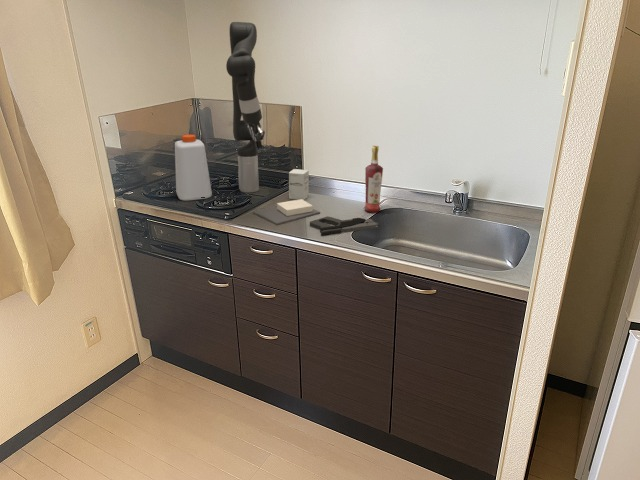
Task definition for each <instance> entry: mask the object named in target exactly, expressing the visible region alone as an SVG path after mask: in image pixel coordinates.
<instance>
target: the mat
mask: <svg viewBox="0 0 640 480" xmlns="http://www.w3.org/2000/svg"><path fill="white" fill-rule="evenodd" d="M252 213H253V214H254V215H256V216H259V217H260V218H261V219H264V220H266V221H268V222H270V223H272V224H274V225H275V226H279V225H280V226H281V225H283V224H286V223H291V222H293V221H298V220H302V219H305V218H306V219H307V218H309V217H313V216H316V215H320V214H321V211H320V210H317V209H314V208H313V211H312V212H308V213H303V214H297V215H291V216H286V215H285V214H284V213H282V212H281V211H279V210H278V209H277V205H274V206H269V207H266V208H261V209H257V210H253V211H252Z"/></svg>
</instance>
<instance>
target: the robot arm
mask: <svg viewBox="0 0 640 480" xmlns="http://www.w3.org/2000/svg"><path fill="white" fill-rule="evenodd" d="M257 37H258V33H257V27H256V25H255V24H254V23H253V22H245V21H244V22H243V21H241V22H240V21H232V22H231V23H230V25H229V44H230V53H231V54H230V56H229V57H228V58H227V60H226V65H225V66H226V68H225V69H226V72H227V73H228V75H229V76H230V77H231V85H232V86H231V89H232V102H233V103H232V105H233V106H232V107H233V110H232V111H233V116H232V118H233V119H232V133H233V138H234V140H235V141H236V142H243V141H244V142H245V141H247V142H248V143H247V144H245V145H243V146H241V147H239V148H238V149H237V163H238V170H237V176H238V188H239V192H242V193H255V192H258V191H259V190H260V186H259V185H260V184H259V183H260V182H259V181H260V180H259V179H260V178H259V162H258V161H259V160H258V158H259V157H258V150H260V149H262V148H263V145H262V141H263V140H264V138H265V137H264V136H265V133H266V132H265V130H264V129H263V130H262V126H261V123H260V121H262V118H263V116H262V111H261V106H260V101H259V98H258V95H257V91H256V83H255V74H256V62H255V59H254V57H253V56H252V54H253V51H254V49H255V46H256V43H257Z"/></svg>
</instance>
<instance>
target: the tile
mask: <svg viewBox="0 0 640 480" xmlns="http://www.w3.org/2000/svg"><path fill="white" fill-rule="evenodd" d="M276 206H277V209H278V210H279V211H281V212H282V213H284V214H285V215H286V216H291V215H297V214H303V213H308V212H312V211H313V209H314V208H313V207H314V206H313V205H312V204H311V203H309V202H308V201H306V200H303V199H300V200H297V199H293V200H289V201H282V202H277V203H276Z"/></svg>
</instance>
